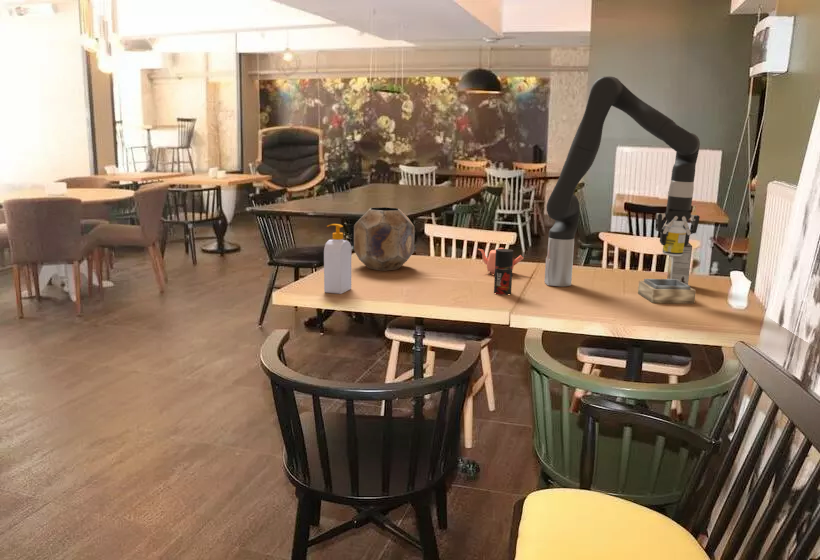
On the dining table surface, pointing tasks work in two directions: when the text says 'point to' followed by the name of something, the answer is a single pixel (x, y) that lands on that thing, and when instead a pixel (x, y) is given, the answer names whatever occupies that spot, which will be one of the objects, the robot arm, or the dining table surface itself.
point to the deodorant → (503, 271)
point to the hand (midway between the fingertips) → (673, 245)
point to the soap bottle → (337, 263)
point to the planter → (384, 238)
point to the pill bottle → (675, 240)
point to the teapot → (491, 260)
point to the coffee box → (680, 265)
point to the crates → (666, 291)
